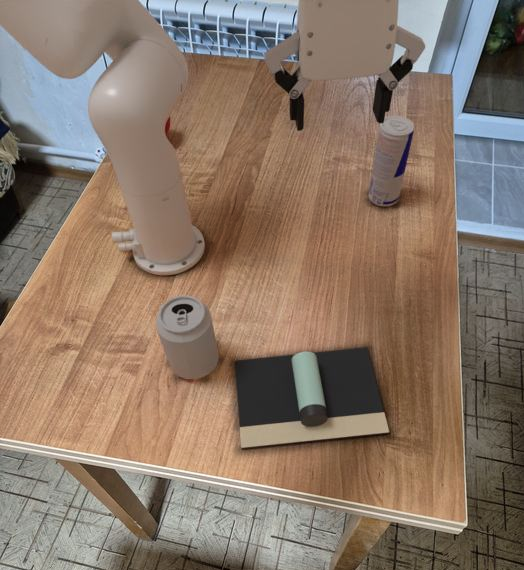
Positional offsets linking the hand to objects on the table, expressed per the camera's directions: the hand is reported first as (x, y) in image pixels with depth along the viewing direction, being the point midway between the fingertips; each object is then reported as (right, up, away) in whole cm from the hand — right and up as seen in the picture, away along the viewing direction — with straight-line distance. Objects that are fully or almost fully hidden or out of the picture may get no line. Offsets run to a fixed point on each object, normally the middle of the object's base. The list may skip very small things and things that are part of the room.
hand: (338, 120), depth 62 cm
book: (-3, -34, +11) cm, 36 cm away
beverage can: (+13, +1, +34) cm, 37 cm away
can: (-19, -30, +15) cm, 39 cm away
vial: (-3, -34, +11) cm, 36 cm away
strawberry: (-31, +16, +47) cm, 58 cm away
